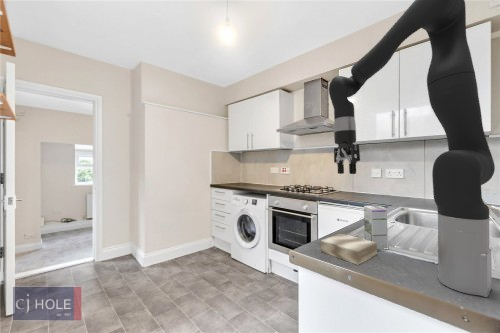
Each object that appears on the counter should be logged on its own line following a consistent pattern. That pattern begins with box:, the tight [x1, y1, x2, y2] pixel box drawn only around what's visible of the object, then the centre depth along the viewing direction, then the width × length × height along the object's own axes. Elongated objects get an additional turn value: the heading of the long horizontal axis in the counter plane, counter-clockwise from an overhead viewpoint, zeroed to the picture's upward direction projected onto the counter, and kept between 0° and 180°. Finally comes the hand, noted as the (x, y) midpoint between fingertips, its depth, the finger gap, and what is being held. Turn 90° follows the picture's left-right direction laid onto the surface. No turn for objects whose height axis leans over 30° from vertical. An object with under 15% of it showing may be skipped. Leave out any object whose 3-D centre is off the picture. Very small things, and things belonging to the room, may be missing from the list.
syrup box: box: [363, 204, 389, 251], centre depth 82 cm, size 6×6×14 cm
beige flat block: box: [320, 233, 378, 266], centre depth 76 cm, size 13×12×4 cm
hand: (346, 173), depth 85 cm, fingers open, 8 cm apart
